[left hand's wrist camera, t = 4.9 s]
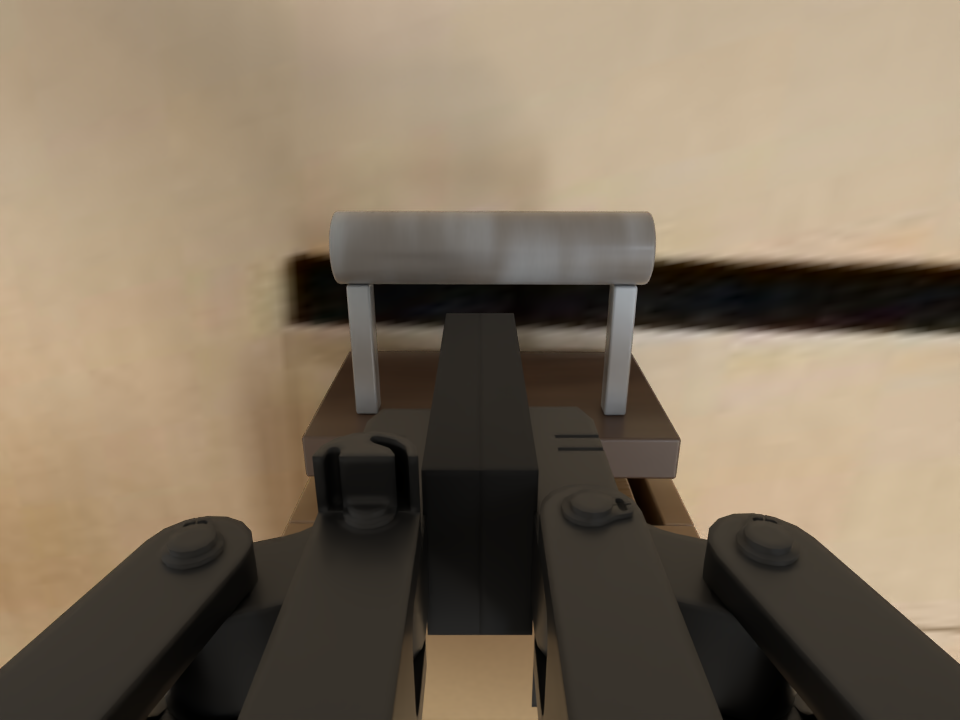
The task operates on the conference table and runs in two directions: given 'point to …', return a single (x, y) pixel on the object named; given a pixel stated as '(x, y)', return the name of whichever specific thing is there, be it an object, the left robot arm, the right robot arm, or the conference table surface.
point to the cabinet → (500, 658)
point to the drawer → (502, 260)
